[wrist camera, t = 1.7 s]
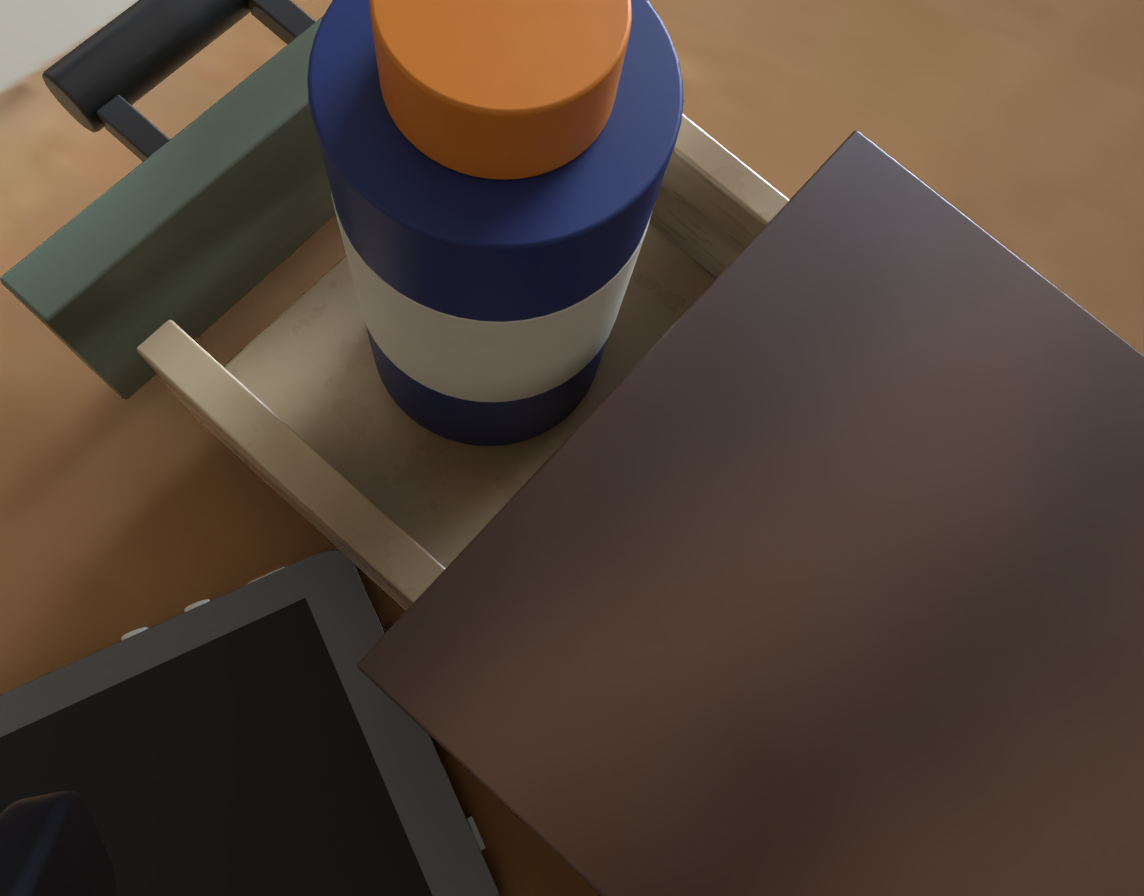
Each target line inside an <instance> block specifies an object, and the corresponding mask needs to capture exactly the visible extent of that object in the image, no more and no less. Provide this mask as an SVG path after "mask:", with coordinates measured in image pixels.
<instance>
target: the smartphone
mask: <svg viewBox="0 0 1144 896" xmlns="http://www.w3.org/2000/svg"><path fill="white" fill-rule="evenodd" d="M184 611H185V612H184V613H182V614H180V615H178V616H175V617H173V618H171V619H169V620H166V621H164V622H162V623H160V624H158V625H155V626H153V627H151V628H149V629H148V628H147V627H143V628H139V629H136V630H133V631H131V632H129V633H127V634H125V635H123V636H122V637H121V639H122V641H120V642H117V643H115V644H113V645H111V646H109V647H106V648H104V649H102V650H100V651H97V652H95V653H93V654H91V655H89V656H86V657H84V658H82V659H80V660H77V661H75V662H73V663H71V664H68V665H66V666H64V667H62V668H60V669H57V670H55V671H53V672H51V673H48V674H46V675H44V676H42V677H39V678H37V679H35V680H33V681H31V682H28V683H26V684H24V685H22V686H19V687H17V688H15V689H13V690H11V691H8V692H6V693H4V694H2V695H0V814H1V813H2V812H3V811H4V810H5V809H6V808H7V807H8V806H10V805H11V804H13V803H14V802H16V801H18V800H21V799H25V798H30V797H35V796H40V795H45V794H50V793H55V792H61V791H74V792H76V793H78V794H79V795H80V796H81V797H82V798H83V800H84V801H85V803H86V805H87V807H88V809H89V812H90V814H91V816H92V819H93V821H94V823H95V825H96V828H97V830H98V832H99V834H100V837H101V839H102V841H103V843H104V846H105V848H106V850H107V853H108V855H109V857H110V859H111V862H112V865H113V868H114V873H115V879H116V896H499V893H498V889H497V886H496V884H495V882H494V879H493V877H492V875H491V873H490V870H489V868H488V866H487V863H486V861H485V859H484V857H483V854H482V852H481V851H482V850H484V849H485V848H486V847H485V845H484V843H483V840H482V838H481V836H480V833H479V831H478V829H477V827H476V824H475V822H474V820H473V818H472V816H471V817H469V818H466V816H465V814H464V811H463V809H462V807H461V805H460V802H459V800H458V798H457V796H456V793H455V791H454V789H453V786H452V784H451V782H450V780H449V777H448V775H447V773H446V771H445V768H444V766H443V764H442V762H441V759H440V757H439V755H438V752H437V750H436V748H435V746H434V743H433V741H432V739H431V737H430V735H429V734H428V733H427V732H426V731H424V730H423V729H422V728H421V727H420V726H419V725H418V724H417V723H416V722H415V721H414V720H413V719H412V718H411V717H409V716H408V715H407V714H406V713H405V712H404V711H403V710H402V709H401V708H400V707H399V706H398V705H397V704H396V703H394V702H393V701H392V700H391V699H390V698H389V697H388V696H387V695H386V694H385V693H384V692H383V691H382V690H381V689H380V688H378V687H377V686H376V685H375V684H374V683H373V682H372V681H371V680H370V679H369V678H368V677H367V676H366V675H365V674H363V673H362V672H361V671H360V670H359V669H358V668H357V663H358V662H359V661H360V660H361V659H362V657H363V656H364V655H365V654H366V653H367V652H368V651H369V650H370V649H371V648H372V647H373V646H374V645H375V644H376V642H377V641H378V640H379V639H380V638H381V637H382V636H383V635H384V634H385V632H384V630H383V628H382V626H381V623H380V621H379V619H378V617H377V614H376V612H375V610H374V607H373V605H372V603H371V601H370V598H369V596H368V594H367V592H366V589H365V587H364V585H363V583H362V580H361V578H360V576H359V573H358V571H357V569H356V567H355V564H354V563H353V562H352V561H351V560H350V559H348V558H347V557H346V556H345V555H344V554H343V553H342V552H341V551H337V550H330V551H324V552H320V553H317V554H314V555H311V556H309V557H307V558H305V559H302V560H300V561H298V562H296V563H294V564H291V565H289V566H287V567H285V568H284V567H282V568H280V569H277V570H275V571H273V572H271V573H268V574H266V575H264V576H262V577H260V578H257V579H255V580H253V581H251V582H248V583H247V585H244V586H242V587H240V588H238V589H236V590H233V591H231V592H229V593H227V594H224V595H222V596H220V597H218V598H216V599H213V600H211V601H210V600H209V599H205V600H201V601H198V602H196V603H193V604H191V605H189V606H188V607H186V608H185V609H184Z"/></svg>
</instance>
